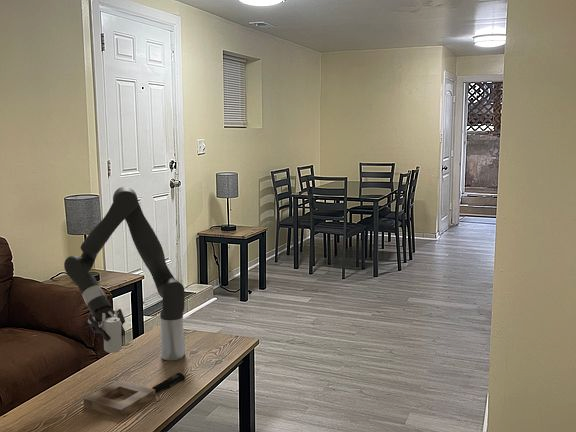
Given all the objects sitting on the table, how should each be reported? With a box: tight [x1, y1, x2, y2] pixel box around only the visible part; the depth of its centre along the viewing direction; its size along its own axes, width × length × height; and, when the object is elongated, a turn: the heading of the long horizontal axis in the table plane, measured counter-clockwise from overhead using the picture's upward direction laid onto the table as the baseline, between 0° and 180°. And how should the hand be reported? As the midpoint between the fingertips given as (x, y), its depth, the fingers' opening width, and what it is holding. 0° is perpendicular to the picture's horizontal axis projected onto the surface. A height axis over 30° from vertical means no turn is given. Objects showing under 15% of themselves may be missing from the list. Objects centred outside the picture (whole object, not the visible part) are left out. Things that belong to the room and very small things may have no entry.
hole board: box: [82, 379, 156, 419], centre depth 200 cm, size 17×17×3 cm
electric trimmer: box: [151, 372, 186, 393], centre depth 214 cm, size 4×16×3 cm, turn 149°
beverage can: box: [103, 317, 123, 354], centre depth 213 cm, size 6×6×12 cm
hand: (116, 337), depth 212 cm, fingers closed on beverage can, 5 cm apart
